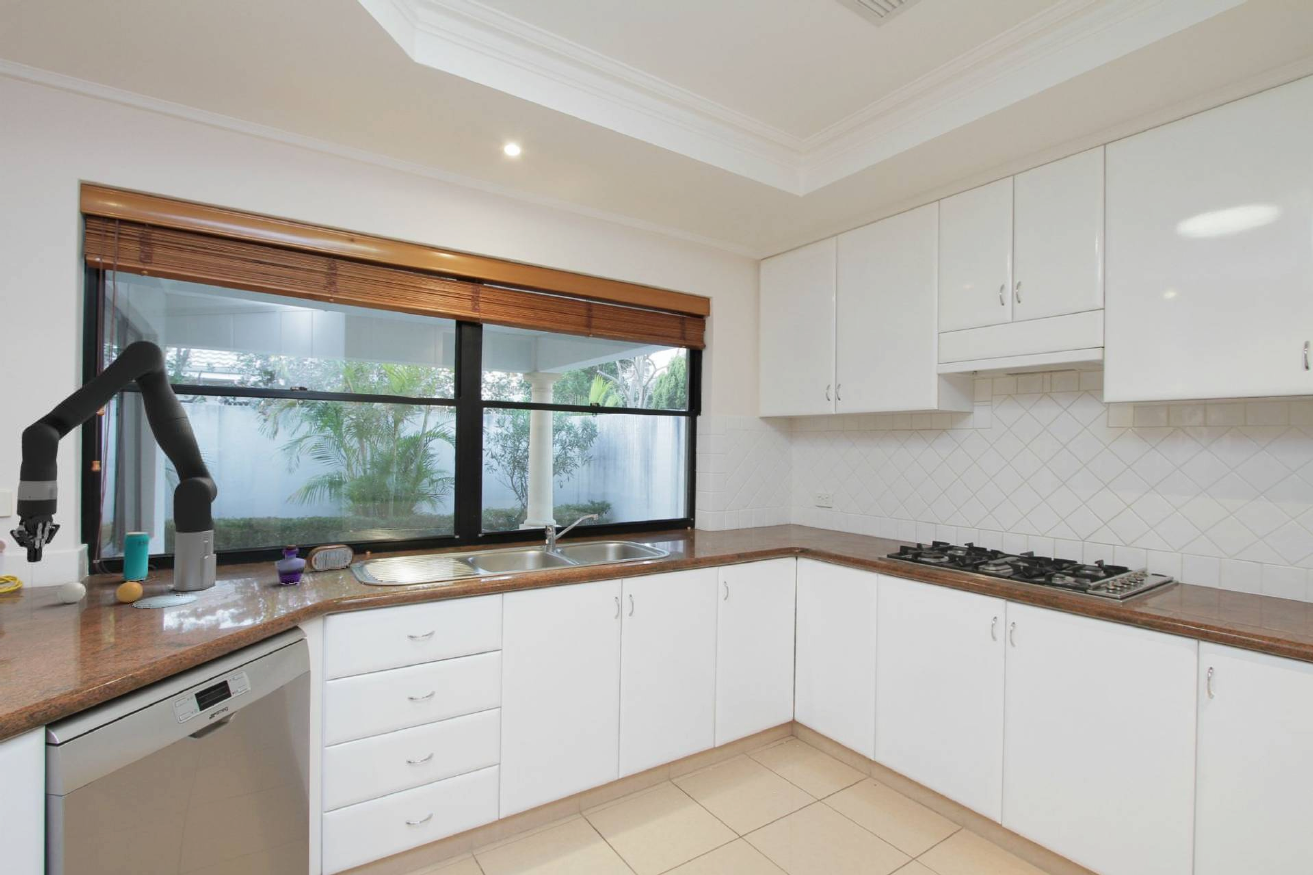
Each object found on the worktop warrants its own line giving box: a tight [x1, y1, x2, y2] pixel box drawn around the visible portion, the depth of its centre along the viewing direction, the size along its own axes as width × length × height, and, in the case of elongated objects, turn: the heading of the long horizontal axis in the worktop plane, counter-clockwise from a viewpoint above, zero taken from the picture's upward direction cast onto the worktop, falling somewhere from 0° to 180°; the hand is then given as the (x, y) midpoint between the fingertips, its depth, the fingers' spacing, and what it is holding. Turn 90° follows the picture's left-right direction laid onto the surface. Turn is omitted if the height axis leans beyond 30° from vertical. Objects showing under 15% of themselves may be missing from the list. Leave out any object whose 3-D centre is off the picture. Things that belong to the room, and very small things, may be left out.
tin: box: [306, 544, 355, 571], centre depth 211 cm, size 15×3×8 cm, turn 141°
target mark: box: [131, 593, 198, 609], centre depth 167 cm, size 14×14×1 cm
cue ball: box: [57, 581, 87, 604], centre depth 163 cm, size 6×6×6 cm
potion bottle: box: [274, 544, 307, 584], centre depth 191 cm, size 9×9×12 cm
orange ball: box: [115, 581, 144, 603], centre depth 165 cm, size 6×6×6 cm
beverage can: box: [123, 531, 150, 582], centre depth 189 cm, size 6×6×15 cm
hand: (34, 561), depth 162 cm, fingers closed
